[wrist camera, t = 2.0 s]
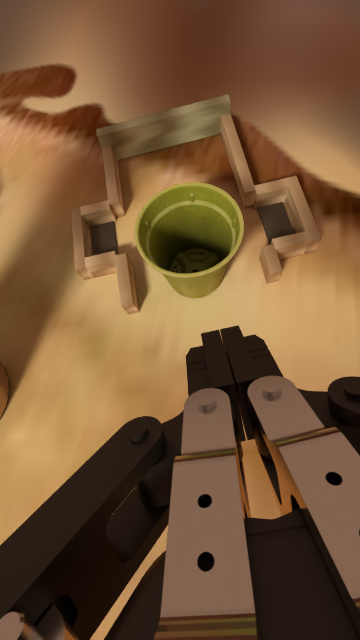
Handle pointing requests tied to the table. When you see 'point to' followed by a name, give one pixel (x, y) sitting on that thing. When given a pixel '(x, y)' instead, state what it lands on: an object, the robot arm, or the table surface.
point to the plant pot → (190, 235)
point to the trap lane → (169, 132)
